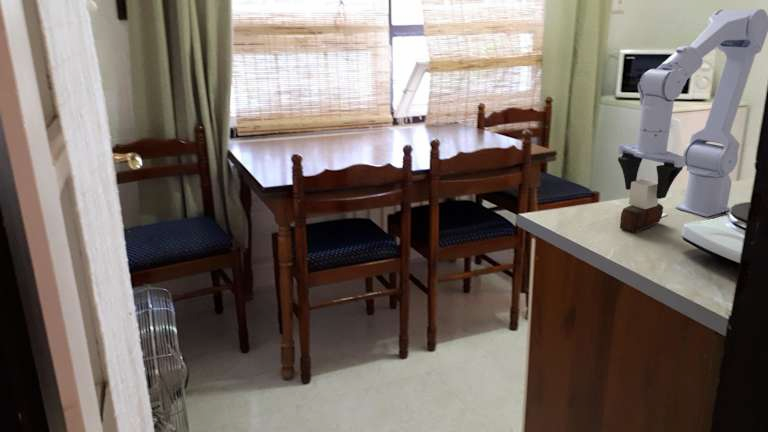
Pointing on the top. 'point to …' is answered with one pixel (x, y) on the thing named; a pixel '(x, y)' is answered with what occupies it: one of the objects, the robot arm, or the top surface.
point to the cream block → (643, 194)
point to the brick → (640, 217)
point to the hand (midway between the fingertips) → (645, 193)
